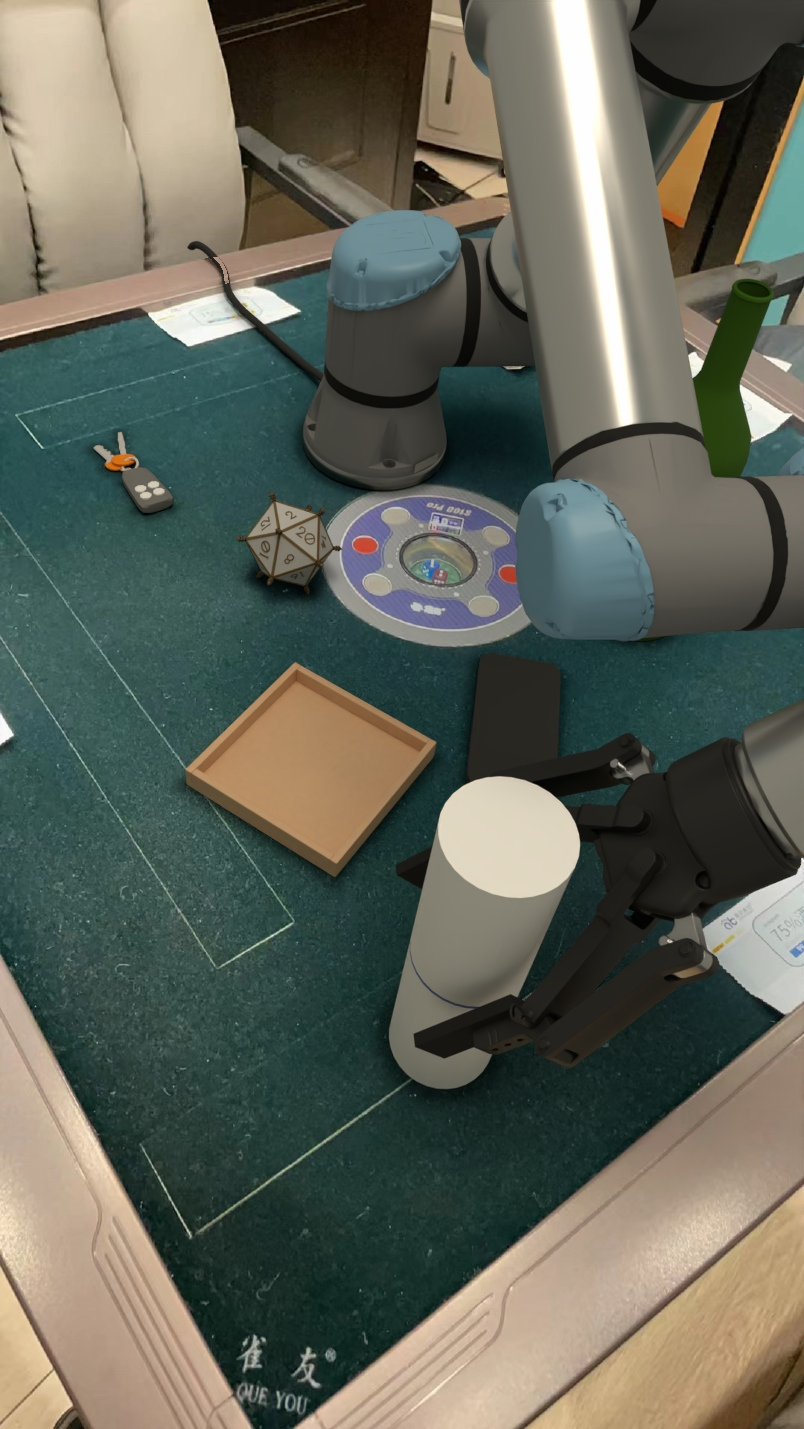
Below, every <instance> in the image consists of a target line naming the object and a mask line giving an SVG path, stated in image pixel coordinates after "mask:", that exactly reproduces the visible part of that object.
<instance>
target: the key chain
mask: <svg viewBox="0 0 804 1429" xmlns="http://www.w3.org/2000/svg"><path fill="white" fill-rule="evenodd" d="M117 443H118V450H119V454H116V455H114V454H112V452H111V451H110V450H108V449H106V448H105V446H103V445H100V444H97V445H95V446H93V447H92V449H93V450H94V451H95V452H97V453H98V454H99V455H100V456H101V457H102V458H103V459H105V460H106V462H105V463H104V467H105V468H106V469H107V470H109V471H115V472H118V471H121V472H122V473H121V481H122V484H123V486H124V488H125V490H126V491H127V492H128V494H129V496H130V498H131V499H132V501H133V502H134V503H135V505H136V507H137V508H138V510H139V511H141V512H142V513H145V514H153V513H156V512H161V511H163V510H165V509H168V508H170V507H171V506H172V505H173V504H174V497H173V495H172V493H171V492H170V491H169V489H167V487H166V486H165V485H164V484H163V483H162V482H161V481H160V480H159V479H158V478H157V477H156V475H154V474H153V472H152V471H150V470H149V469H147V468H146V467H142V466H140V462H139V459H138V458H137V457H136V456H135V455H134V454H131V453H127V450H126V442H125V440H124V435H123V432H122V431H118V432H117ZM134 464H135V466H134V467H133V468H131V467H127V466H131V465H134Z"/></svg>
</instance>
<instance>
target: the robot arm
mask: <svg viewBox="0 0 804 1429" xmlns="http://www.w3.org/2000/svg"><path fill="white" fill-rule="evenodd" d="M458 2H459V9H460V16H461V22H462V30H463V36H464V42H465V46H466V50H467V53H468V55H469V57H470V60H471V61H472V63H473V64H474V65H475V67H476V68H477V70H479V71H480V73H481V74H482V75H484V76H485V77H487V79H489V81H490V87H491V94H492V100H493V101H492V102H493V106H494V112H495V119H496V126H497V132H498V139H499V144H500V145H499V146H500V150H501V151H500V152H501V157H502V164H503V171H504V176H505V182H506V188H507V195H508V201H509V208H510V211H509V212H507V214H505V216H504V217H503V218H502V219H501V220H500V222H499V223H498V225H497V226H496V228H495V230H494V232H493V234H492V236H491V237H483V238H482V237H460V235H459V232H458V231H457V228H456V227H455V226H454V225H453V224H452V223H451V222H450V221H448V220H447V219H445V218H444V217H441V216H440V215H437V214H431V215H426V213H425V212H424V211H421V210H414V209H412V210H411V209H396V210H387V211H381V212H377V213H373V214H370V215H366V216H364V217H362V218H360V219H358V220H356V221H355V222H353V223H352V224H351V225H350V226H348V227H347V228H345V229H344V230H343V231H342V232H341V233H340V234H339V236H338V237H337V238H336V241H335V243H334V245H333V248H332V252H331V258H330V259H331V260H330V268H329V273H328V278H327V281H326V293H327V312H326V328H325V329H326V330H325V332H326V333H325V346H324V348H325V349H324V366H323V372H322V371H321V370H319V369H318V368H316V367H315V366H314V365H312V364H311V363H310V362H308V361H307V360H306V359H305V358H304V357H302V356H301V355H300V354H299V353H297V352H296V351H295V350H294V349H293V348H291V346H289V345H288V344H287V343H286V342H284V341H283V340H282V339H281V338H280V337H279V336H278V335H276V333H275V332H273V331H272V330H271V329H270V328H269V327H268V326H267V325H266V324H265V323H264V322H262V321H261V319H259V318H258V317H257V316H256V315H254V314H253V313H252V312H251V311H249V310H248V309H247V307H245V306H244V305H243V303H241V302H240V300H239V299H238V298H237V296H236V295H235V293H234V292H233V289H232V285H231V279H230V274H229V270H228V268H227V266H226V265H225V262H223V261H222V263H223V264H224V266H225V268H226V270H227V274H228V280H229V283H227V284H225V281H224V274H223V270H222V268H221V266H220V264H219V263H218V262H217V261H216V260H215V259H214V258H213V257H219V256H218V255H217V253H216V252H214V251H213V250H212V249H211V247H209V246H207V244H206V243H203V242H202V241H199V240H193V241H191V242H190V243H189V244H188V245H187V247H186V248H187V250H189V251H194V250H200V251H201V252H203V253H204V254H205V255H206V256H207V257H208V259H210V260H211V259H212V260H211V261H212V263H213V264H214V265H215V267H216V268H217V269H218V270H219V272H220V274H221V279H222V286H223V290H224V294H225V296H226V298H227V299H228V301H229V302H230V303H231V305H232V306H233V307H234V308H235V310H236V311H237V312H238V313H239V314H240V315H241V316H243V317H244V318H245V319H246V320H247V321H248V322H249V323H250V324H252V325H253V326H254V327H255V328H256V329H258V331H260V332H261V334H263V335H264V336H265V337H266V338H267V339H269V341H270V342H272V343H273V344H274V345H275V346H276V347H277V348H278V349H279V350H281V351H282V352H283V354H285V355H286V356H287V357H288V358H290V359H291V360H292V361H293V362H295V363H296V364H297V365H298V366H299V367H301V368H302V369H303V370H305V372H307V373H309V374H310V375H311V376H313V377H314V378H315V379H316V380H318V381H319V385H318V387H317V390H316V392H315V394H314V396H313V398H312V401H311V403H310V405H309V407H308V410H307V412H306V415H305V419H304V422H303V427H302V428H303V429H302V446H303V450H304V452H305V455H306V456H307V458H308V459H309V461H310V462H311V463H312V464H313V465H314V466H315V467H316V468H317V469H318V470H319V471H320V472H322V473H323V474H324V475H326V476H328V477H329V478H332V479H334V480H335V481H338V482H340V483H342V484H345V485H349V486H352V487H355V488H360V489H366V490H374V491H376V490H377V491H388V490H389V491H390V490H391V491H392V490H399V489H405V488H409V487H412V486H415V485H416V486H417V485H418V484H420V483H422V482H425V481H427V480H428V479H430V478H431V477H432V476H434V475H435V474H436V473H437V472H438V470H439V469H440V468H441V466H442V465H443V462H444V459H445V456H446V455H445V454H446V449H447V431H446V425H445V422H444V416H443V410H442V404H441V400H440V395H439V390H438V388H439V383H440V382H439V381H440V375H441V370H442V368H479V367H480V368H481V367H482V368H489V367H491V368H493V367H498V368H499V367H500V368H501V367H512V368H513V367H518V368H519V367H535V372H536V373H535V374H536V379H537V384H538V385H537V386H538V391H539V398H540V404H541V411H542V417H543V421H544V429H545V430H544V431H545V435H546V442H547V449H548V455H549V461H550V462H549V463H550V467H551V468H550V469H551V474H552V481H553V482H545V483H543V484H540V485H538V486H536V487H535V488H533V489H532V490H531V491H530V492H529V493H528V495H527V497H525V500H524V501H523V503H522V505H521V507H520V511H519V515H518V518H517V522H516V527H515V535H514V536H515V540H514V545H515V550H516V559H515V563H514V572H515V579H516V580H515V581H516V587H517V590H518V596H519V598H520V602H521V604H522V608H523V610H524V612H525V615H526V616H527V618H528V620H529V621H530V622H531V624H532V625H533V626H534V628H536V629H537V630H538V631H539V632H540V633H542V634H544V635H545V636H547V637H551V638H553V639H558V640H559V639H560V640H585V641H586V640H589V641H590V640H594V641H595V640H596V641H598V640H600V641H601V640H603V641H605V640H607V641H609V640H611V641H614V640H615V641H618V642H629V641H631V642H636V641H635V640H639V639H641V638H649V637H661V636H662V637H670V636H682V635H684V636H685V635H695V634H705V633H718V632H757V631H774V630H775V631H776V630H790V629H804V447H802V448H801V449H800V450H798V451H796V453H794V454H793V455H792V456H791V457H790V458H789V459H788V460H787V461H786V462H784V464H783V466H782V467H781V468H780V469H779V471H778V472H777V474H776V475H765V476H764V475H763V476H749V475H748V476H741V477H733V478H721V477H714V476H713V475H712V474H711V469H710V463H709V458H708V452H707V451H706V448H705V442H704V437H703V432H702V426H701V421H700V415H699V410H698V405H697V399H696V394H695V389H694V383H693V372H692V367H691V362H690V357H689V351H688V346H687V341H686V335H685V330H684V329H685V328H684V324H683V318H682V314H681V309H680V304H679V297H678V293H677V286H676V282H675V276H674V271H673V265H672V260H671V255H670V249H669V245H668V238H667V234H666V233H667V232H666V229H665V228H666V227H665V223H664V217H663V211H662V206H661V202H660V195H659V190H658V186H659V185H660V183H661V181H662V180H663V179H664V178H665V176H666V174H667V172H668V171H669V169H670V168H671V167H672V165H673V164H674V162H675V160H676V159H677V158H678V156H679V154H680V153H681V152H682V150H683V148H684V147H685V145H686V144H687V142H688V141H689V139H690V138H691V136H692V135H693V133H694V132H695V130H696V129H697V127H698V126H699V124H700V123H701V121H702V120H703V118H704V116H705V115H706V114H707V113H708V111H709V109H710V107H711V106H712V104H716V103H721V102H726V101H727V100H730V99H733V98H735V97H737V96H738V95H740V94H742V93H744V91H745V90H746V89H748V88H749V87H750V86H751V85H752V84H753V83H754V81H755V80H756V79H757V78H758V77H759V75H760V74H761V72H762V71H763V69H764V68H765V67H766V65H767V64H768V62H769V61H770V59H771V58H772V56H773V55H774V54H775V52H776V51H777V49H778V48H779V47H781V46H782V45H784V44H794V45H795V46H796V47H799V48H804V0H458ZM219 259H220V260H221V258H220V257H219ZM662 637H661V638H662ZM740 738H741V740H738V739H737V738H734V737H731V738H730V737H728V736H724V737H721V738H719V739H717V740H715V741H713V742H711V743H709V744H706V745H705V746H703V747H701V748H699V749H697V750H695V751H693V752H691V753H689V754H686V755H684V756H682V757H680V758H678V759H677V760H674V761H673V762H672V763H671V764H670V765H669V767H668V769H667V770H666V771H663V772H655V769H654V766H655V764H656V762H657V757H656V754H655V753H654V752H653V751H652V750H651V749H650V748H649V747H648V746H646V745H645V744H644V743H643V742H642V741H641V740H640V739H639V738H637V737H636V736H635V735H634V734H633V733H631V732H626V733H623V734H621V735H619V736H617V737H616V738H613V739H612V740H611V741H608V742H606V743H605V744H603V745H601V746H600V747H598V748H597V749H596V748H595V749H591V750H586V751H581V752H577V753H573V754H569V755H564V756H558V758H554V759H550V760H545V761H541V762H536V763H532V764H527V765H522V766H518V767H513V768H509V769H504V770H500V771H496V772H493V773H492V774H491V775H490V776H489V777H498V776H500V777H512V778H517V779H521V780H525V781H528V782H530V783H533V784H535V785H538V786H539V787H541V788H543V789H545V790H546V791H548V792H550V793H551V794H552V795H553V796H554V797H556V798H557V799H558V798H561V797H566V796H572V795H578V794H581V793H582V794H583V793H586V792H587V793H588V792H592V791H599V790H602V789H607V788H608V789H609V788H612V787H616V786H619V785H624V786H625V785H626V786H628V785H629V786H628V787H627V789H626V790H625V792H624V793H623V795H622V796H621V797H620V799H619V800H618V802H617V803H616V804H615V805H610V804H609V805H608V804H595V803H582V804H580V806H575V805H564V806H565V808H566V809H567V810H568V811H569V813H570V814H571V816H572V818H573V820H574V822H575V824H576V827H577V830H578V833H579V840H580V843H581V842H582V843H590V844H593V845H594V848H595V852H596V855H597V856H598V858H599V859H600V861H601V863H602V882H603V885H604V888H605V892H606V894H604V896H603V897H602V898H601V899H600V901H599V902H598V903H597V905H596V907H595V914H594V917H593V918H592V920H590V922H589V923H588V925H586V926H585V928H584V929H583V931H582V932H581V933H580V934H579V936H577V938H576V939H575V940H574V941H573V943H572V944H570V946H569V947H568V949H567V950H566V951H565V952H564V954H563V955H562V956H561V957H560V958H559V960H558V961H557V962H556V963H555V964H554V966H553V967H552V968H551V969H550V971H549V972H548V973H547V974H546V975H545V977H543V979H542V980H541V982H539V984H538V985H537V986H536V988H535V989H534V990H533V991H532V992H531V994H529V996H528V997H527V998H526V1000H523V999H521V998H519V996H518V997H516V996H513V995H511V994H510V995H507V996H505V997H502V998H500V999H497V1000H495V1001H492V1002H490V1003H488V1004H485V1005H483V1006H480V1007H478V1008H475V1009H473V1010H470V1011H468V1012H466V1013H463V1014H461V1015H458V1016H456V1017H453V1018H451V1019H448V1020H446V1021H443V1022H441V1023H439V1024H436V1025H434V1026H431V1027H429V1028H426V1029H424V1030H421V1031H419V1032H417V1033H414V1034H413V1035H414V1044H415V1047H416V1048H418V1049H421V1050H424V1051H426V1052H429V1053H431V1054H434V1055H436V1056H439V1057H441V1058H444V1059H445V1058H448V1057H450V1056H453V1055H455V1054H458V1053H460V1052H463V1051H466V1050H468V1049H471V1048H473V1047H474V1048H476V1049H479V1050H481V1051H483V1052H486V1053H488V1054H492V1055H495V1056H496V1055H497V1056H498V1055H501V1054H504V1053H506V1052H508V1051H511V1050H514V1049H517V1048H520V1047H523V1046H524V1045H527V1044H529V1043H532V1042H533V1044H534V1045H533V1048H534V1052H535V1053H536V1054H537V1056H539V1057H541V1058H544V1059H545V1060H547V1061H550V1062H552V1063H555V1064H557V1065H559V1066H562V1067H564V1068H566V1069H571V1068H573V1067H575V1066H576V1065H578V1064H579V1063H580V1062H581V1061H583V1060H584V1059H586V1058H587V1057H589V1055H591V1054H593V1052H595V1051H597V1049H599V1048H601V1046H603V1045H605V1043H607V1042H608V1041H609V1040H611V1039H612V1038H614V1037H615V1036H616V1035H618V1033H620V1032H621V1031H623V1030H624V1029H626V1028H627V1027H628V1026H629V1025H630V1024H631V1023H633V1022H634V1021H637V1019H638V1018H640V1017H641V1016H643V1015H644V1014H645V1013H646V1012H648V1011H649V1010H651V1009H652V1008H653V1007H654V1006H655V1005H657V1004H658V1003H659V1002H661V1001H662V1000H664V999H665V998H667V996H669V995H670V994H672V993H673V992H674V991H675V990H677V989H678V988H679V987H681V986H686V985H689V984H692V983H694V982H698V981H702V980H704V979H707V978H711V977H713V976H714V975H716V973H718V971H719V969H720V961H719V958H718V956H716V954H714V953H712V951H710V950H709V948H708V946H707V941H706V937H705V934H704V933H705V932H704V929H703V924H702V920H703V919H704V918H705V916H706V915H707V914H708V913H709V912H710V911H711V910H712V909H713V908H714V907H715V906H717V905H718V904H720V903H723V902H727V901H731V900H735V899H740V898H743V897H745V896H747V895H749V894H752V893H755V892H758V891H760V890H762V889H765V888H767V887H769V886H772V885H775V884H777V883H780V882H782V881H784V880H786V879H789V878H791V877H795V876H796V875H797V874H798V873H799V869H801V866H802V863H803V862H802V861H803V860H804V698H802V699H799V700H797V701H795V702H793V703H791V704H789V705H787V706H785V707H783V708H781V709H778V710H777V711H774V712H772V713H770V714H768V715H766V716H763V717H761V718H759V719H757V720H755V721H753V722H751V723H748V724H747V725H745V726H744V728H743V731H742V734H741V737H740ZM432 847H433V845H432V846H430V847H428V848H425V849H424V850H422V851H420V852H418V853H416V854H414V855H412V856H410V857H408V858H406V859H404V860H402V861H400V862H398V863H396V864H395V871H396V872H395V873H396V876H397V877H399V878H400V879H403V880H404V881H406V882H408V883H410V884H411V885H413V886H415V887H416V888H419V889H421V890H422V889H423V884H424V880H425V876H426V872H427V868H428V863H429V859H430V855H431V851H432ZM802 859H803V860H802ZM627 910H629V911H631V912H632V913H631V914H630V915H626V911H627ZM661 920H664V921H668V922H671V923H674V924H673V928H672V929H671V931H670V932H669V933H666V935H661V936H660V937H659V939H658V940H657V942H658V947H654V948H652V949H651V950H649V951H647V952H645V953H643V954H642V955H640V956H639V957H638V958H636V959H634V960H633V961H632V962H631V963H630V964H628V965H627V966H626V967H625V968H623V969H622V970H620V971H619V972H618V973H616V974H615V975H614V976H612V977H611V978H610V979H609V980H608V981H607V982H605V983H604V984H602V983H603V982H604V980H605V979H606V978H607V977H608V975H609V974H610V973H611V972H612V971H613V969H614V968H615V967H616V966H617V965H618V963H619V962H620V961H621V960H622V959H623V958H624V956H625V955H626V954H627V953H628V951H630V950H631V948H632V946H634V945H636V944H639V943H642V942H643V941H644V940H645V939H646V938H648V936H649V934H650V933H651V932H652V931H653V930H654V929H655V927H656V926H657V925H658V924H659V923H660V921H661ZM601 984H602V985H601ZM600 985H601V986H600ZM599 986H600V987H599Z"/></svg>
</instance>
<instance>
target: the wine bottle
mask: <svg viewBox="0 0 804 1429" xmlns="http://www.w3.org/2000/svg"><path fill="white" fill-rule="evenodd" d="M774 296H775V293H774V290H773V289H772V288H771V287H770V286H769V285H768V284H766V282H765V283H764V282H763V281H761V280H757V279H753V278H740V279H737V280H735V281H734V282H733V283H732V285H731V291H730V293H729V296H728V299H727V301H726V304H725V306H724V309H723V311H722V314H721V316H720V319H719V322H718V324H717V327H716V330H715V332H714V335H713V337H712V340H711V343H710V345H709V347H708V349H707V353H706V355H705V358H704V360H703V363H702V366H701V368H700V370H699V371H698V372H697V373H696V375H695V376H692V378H693V383H694V389H695V394H696V399H697V405H698V410H699V415H700V421H701V426H702V432H703V437H704V442H705V448H706V451H707V452H708V458H709V463H710V469H711V474H712V475H713V476H714V477H721V478H733V477H742V474H743V472H744V469H745V467H746V465H747V463H748V459H749V456H750V450H751V444H752V439H753V438H752V437H753V436H752V433H751V428H750V424H749V420H748V416H747V412H746V409H745V408H746V407H745V405H744V400H743V397H742V396H743V395H742V392H741V381H742V378H743V376H744V373H745V370H746V368H747V365H748V362H749V360H750V357H751V354H752V352H753V349H754V346H755V344H756V341H757V339H758V336H759V334H760V331H761V328H762V325H763V323H764V320H765V317H766V315H767V312H768V310H769V307H770V305H771V301H773V300H774ZM662 637H663V636H661V637H649V638H641V639H639V640H635V641H634V642H650V641H654V640H658V639H661V638H662Z"/></svg>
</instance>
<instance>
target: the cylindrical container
mask: <svg viewBox="0 0 804 1429" xmlns="http://www.w3.org/2000/svg"><path fill="white" fill-rule="evenodd" d="M565 806H566V805H565V804H563V803H562V801H560V800H559V799H558V797H557V798H556V797H554V796H553V795H552V794H551V793H550V792H548V791H546V790H545V789H543V788H541V787H539V786H538V785H535V784H533V783H530V782H528V781H525V780H521V779H517V778H512V777H500V776H498V777H487V778H483V779H479V780H475V781H473V782H470V783H468V782H467V783H466V784H463V785H462V786H461V787H460V788H458V789H457V790H455V792H453V793H452V794H451V795H450V796H449V798H448V799H447V800H446V801H445V803H444V805H443V807H442V809H441V811H440V814H439V818H438V821H437V827H436V831H435V834H434V838H433V843H432V846H433V847H432V846H431V847H432V851H431V855H430V859H429V863H428V868H427V872H426V876H425V880H424V884H423V889H421V892H420V898H419V902H418V905H417V910H416V914H415V919H414V923H413V927H412V932H411V935H410V940H409V944H408V948H407V951H406V956H405V960H404V964H403V967H402V968H403V969H402V974H401V977H400V981H399V986H398V990H397V994H396V998H395V1002H394V1007H393V1011H392V1014H391V1020H390V1024H389V1027H388V1042H389V1047H390V1050H391V1052H392V1055H393V1058H394V1060H395V1061H396V1063H397V1065H398V1066H399V1068H400V1069H401V1070H402V1071H403V1072H404V1073H405V1074H406V1075H407V1076H409V1078H411V1079H412V1080H414V1081H415V1082H417V1083H419V1084H420V1085H423V1086H425V1087H429V1088H433V1089H437V1090H451V1089H457V1088H460V1087H463V1086H466V1085H467V1084H468V1085H469V1083H471V1082H473V1081H475V1080H476V1079H477V1078H478V1077H479V1076H480V1075H481V1074H482V1073H483V1072H484V1071H485V1069H486V1067H487V1066H488V1064H489V1063H490V1060H491V1059H492V1056H493V1054H488V1053H486V1052H483V1051H481V1050H479V1049H476V1048H474V1047H473V1048H471V1049H468V1050H466V1051H463V1052H460V1053H458V1054H455V1055H453V1056H450V1057H448V1058H445V1059H444V1058H441V1057H439V1056H436V1055H434V1054H431V1053H429V1052H426V1051H424V1050H421V1049H418V1048H416V1047H415V1044H414V1035H413V1034H414V1033H417V1032H419V1031H421V1030H424V1029H426V1028H429V1027H431V1026H434V1025H436V1024H439V1023H441V1022H443V1021H446V1020H448V1019H451V1018H453V1017H456V1016H458V1015H461V1014H463V1013H466V1012H468V1011H470V1010H473V1009H475V1008H478V1007H480V1006H483V1005H485V1004H488V1003H490V1002H492V1001H495V1000H497V999H500V998H502V997H505V996H507V995H510V994H511V995H513V996H516V997H518V998H519V995H520V992H521V990H522V989H523V987H524V983H525V982H526V979H527V977H528V975H529V972H530V970H531V968H532V966H533V963H534V961H535V959H536V956H537V954H538V952H539V949H540V947H541V946H542V945H541V944H542V943H543V940H544V939H545V936H546V934H547V932H548V930H549V927H550V925H551V923H552V920H553V918H554V916H555V914H556V911H557V909H558V907H559V905H560V903H561V900H562V898H563V895H564V893H565V891H566V889H567V886H568V884H569V882H570V880H571V878H572V875H573V873H574V871H575V868H576V865H577V863H578V860H579V857H580V850H581V842H580V840H579V833H578V830H577V827H576V824H575V822H574V820H573V818H572V816H571V814H570V813H569V811H568V810H567V809H566V808H565Z"/></svg>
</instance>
